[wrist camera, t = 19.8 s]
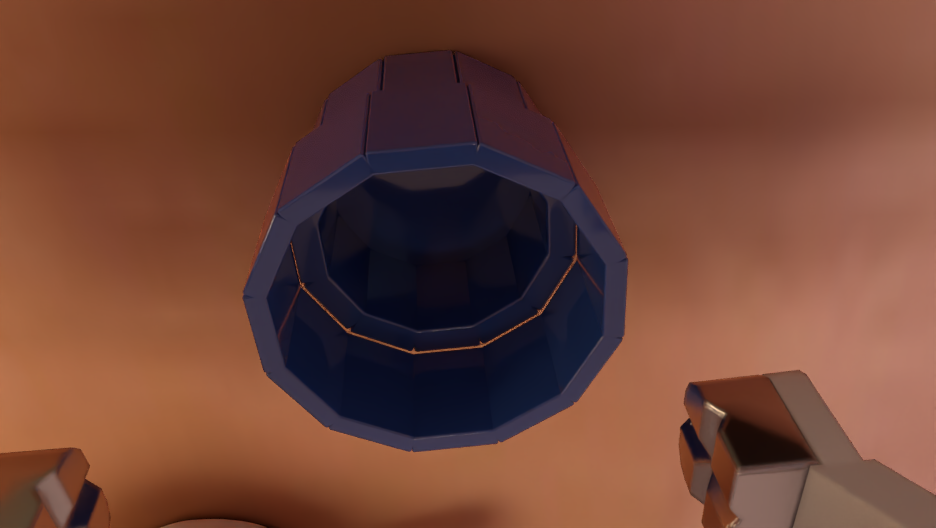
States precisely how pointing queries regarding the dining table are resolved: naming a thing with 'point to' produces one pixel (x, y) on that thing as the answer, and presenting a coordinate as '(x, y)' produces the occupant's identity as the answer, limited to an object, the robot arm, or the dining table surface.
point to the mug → (213, 524)
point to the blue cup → (435, 260)
